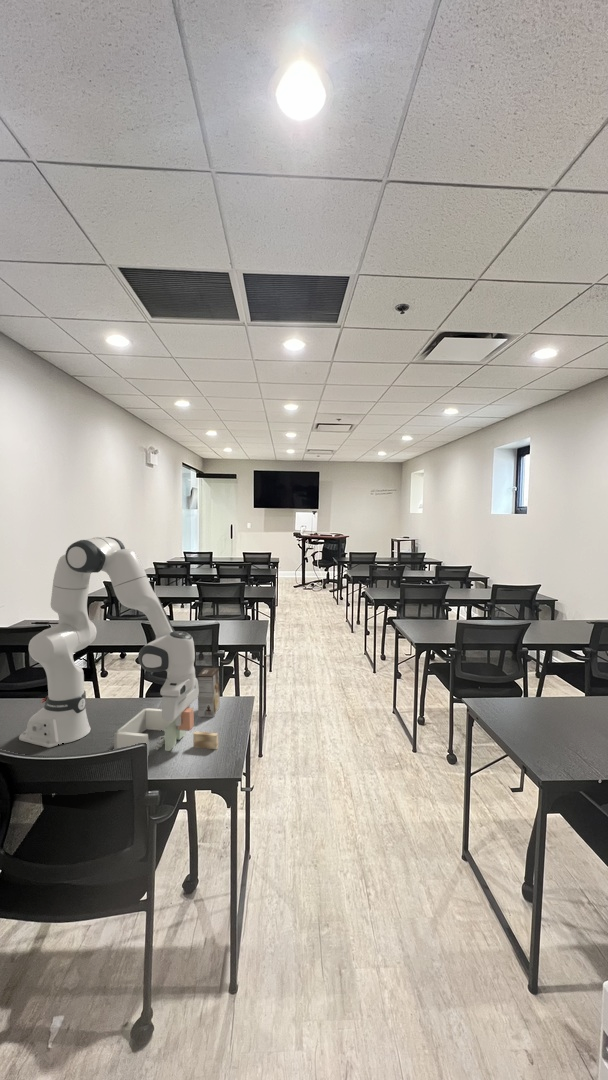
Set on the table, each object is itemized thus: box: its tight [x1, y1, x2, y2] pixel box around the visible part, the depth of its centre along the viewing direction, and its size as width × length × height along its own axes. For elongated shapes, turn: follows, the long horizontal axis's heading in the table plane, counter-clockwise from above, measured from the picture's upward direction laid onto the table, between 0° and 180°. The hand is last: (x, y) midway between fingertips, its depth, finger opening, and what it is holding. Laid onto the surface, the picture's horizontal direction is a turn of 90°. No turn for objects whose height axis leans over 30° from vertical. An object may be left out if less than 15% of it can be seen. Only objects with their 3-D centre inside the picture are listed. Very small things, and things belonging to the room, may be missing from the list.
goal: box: [113, 707, 173, 757], centre depth 152 cm, size 11×19×7 cm, turn 170°
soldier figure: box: [152, 735, 165, 751], centre depth 152 cm, size 8×5×12 cm
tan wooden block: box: [192, 731, 219, 750], centre depth 148 cm, size 8×2×5 cm, turn 80°
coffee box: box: [196, 667, 221, 718], centre depth 174 cm, size 9×6×16 cm
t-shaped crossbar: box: [164, 707, 195, 752], centre depth 149 cm, size 6×12×11 cm, turn 170°
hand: (182, 721), depth 149 cm, fingers closed on t-shaped crossbar, 3 cm apart
